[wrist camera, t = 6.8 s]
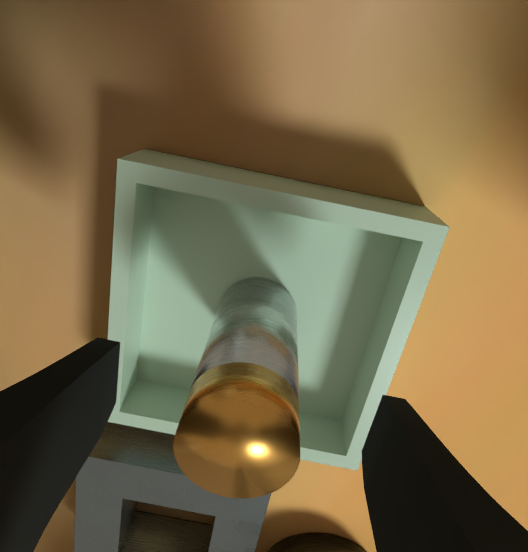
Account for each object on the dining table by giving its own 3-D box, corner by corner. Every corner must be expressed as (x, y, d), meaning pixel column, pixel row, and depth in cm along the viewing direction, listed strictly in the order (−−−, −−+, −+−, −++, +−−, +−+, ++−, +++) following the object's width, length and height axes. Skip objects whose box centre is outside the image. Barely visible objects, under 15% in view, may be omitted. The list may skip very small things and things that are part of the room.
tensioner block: (422, 474, 20) (442, 531, 17) (357, 615, 24) (364, 677, 22) (101, 412, 20) (72, 460, 17) (93, 565, 24) (69, 622, 21)
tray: (425, 206, 15) (449, 226, 13) (349, 425, 19) (357, 470, 17) (144, 148, 15) (117, 158, 13) (126, 381, 19) (103, 421, 17)
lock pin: (309, 295, 16) (322, 429, 10) (278, 356, 17) (270, 513, 11) (235, 265, 16) (196, 382, 9) (208, 329, 17) (157, 474, 11)
